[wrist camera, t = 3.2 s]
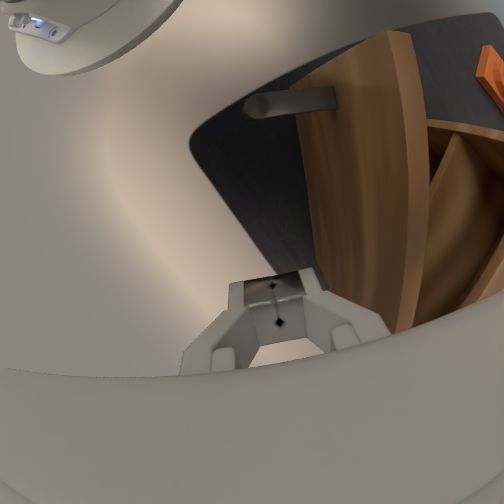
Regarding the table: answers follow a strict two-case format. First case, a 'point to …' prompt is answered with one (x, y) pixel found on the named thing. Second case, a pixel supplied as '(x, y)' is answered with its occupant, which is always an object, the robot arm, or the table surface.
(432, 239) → the cupboard
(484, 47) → the button box
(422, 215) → the door
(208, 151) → the table surface
